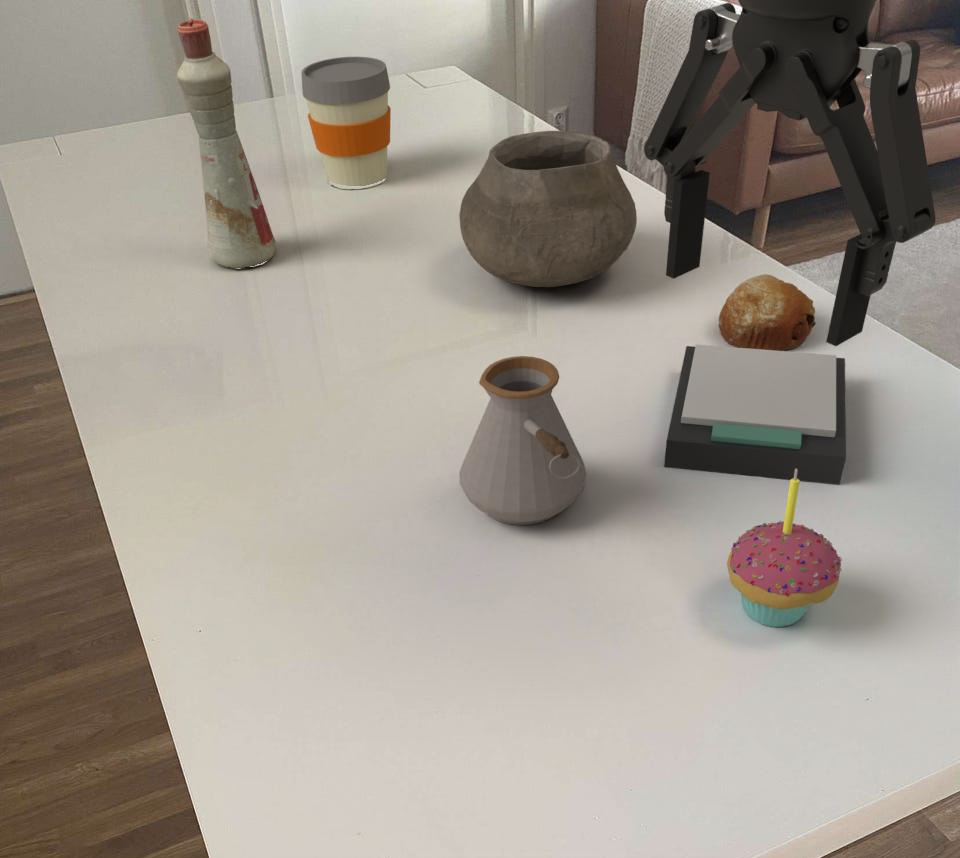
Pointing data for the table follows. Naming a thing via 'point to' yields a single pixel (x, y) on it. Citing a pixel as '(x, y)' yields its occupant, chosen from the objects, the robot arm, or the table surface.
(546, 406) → the coffee pot
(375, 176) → the reusable coffee cup
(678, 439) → the scale
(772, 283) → the bread roll
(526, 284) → the clay pot
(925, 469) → the table surface
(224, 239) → the bottle
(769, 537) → the cupcake
